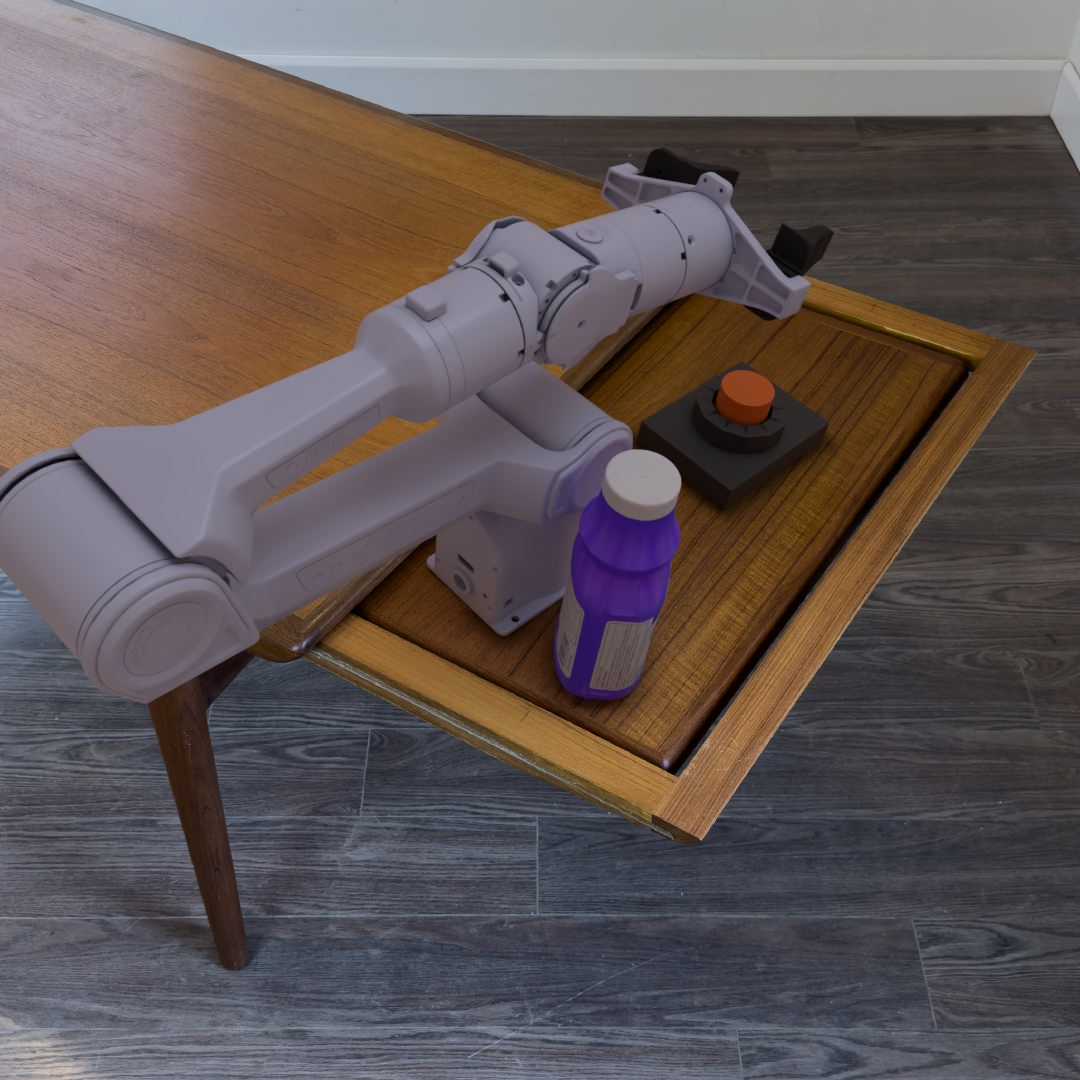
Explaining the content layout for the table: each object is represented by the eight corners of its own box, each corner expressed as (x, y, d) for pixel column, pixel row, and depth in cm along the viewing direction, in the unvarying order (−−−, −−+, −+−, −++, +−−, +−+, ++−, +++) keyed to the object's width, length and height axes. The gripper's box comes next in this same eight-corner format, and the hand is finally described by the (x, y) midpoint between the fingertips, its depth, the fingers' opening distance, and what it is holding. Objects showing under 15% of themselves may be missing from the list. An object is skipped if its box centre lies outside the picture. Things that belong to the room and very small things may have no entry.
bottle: (640, 715, 68) (703, 530, 55) (549, 708, 68) (591, 520, 55) (636, 621, 73) (693, 430, 60) (551, 613, 73) (590, 420, 60)
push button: (744, 434, 81) (752, 413, 80) (704, 404, 83) (710, 383, 81) (778, 412, 83) (785, 391, 82) (738, 383, 85) (744, 362, 83)
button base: (724, 511, 81) (737, 473, 78) (635, 442, 85) (645, 403, 82) (821, 442, 87) (837, 405, 84) (735, 381, 91) (747, 342, 88)
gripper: (772, 260, 57) (896, 212, 66) (574, 129, 63) (712, 101, 71) (723, 370, 62) (846, 312, 70) (543, 239, 67) (677, 200, 76)
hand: (776, 212), depth 71 cm, fingers open, 7 cm apart
